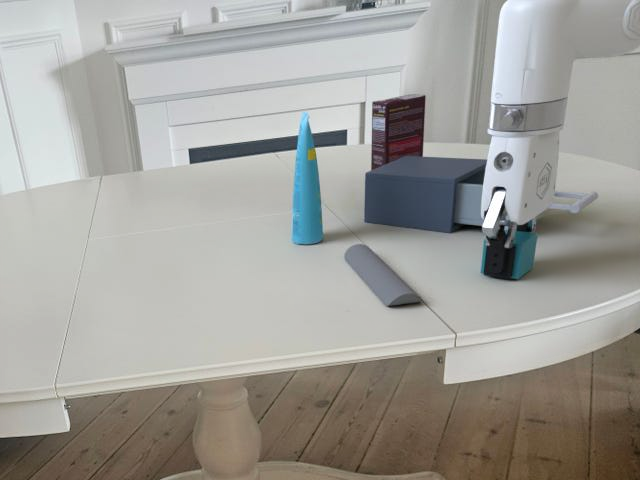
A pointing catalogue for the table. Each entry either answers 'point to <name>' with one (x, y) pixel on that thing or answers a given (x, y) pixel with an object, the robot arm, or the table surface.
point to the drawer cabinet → (417, 192)
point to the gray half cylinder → (380, 276)
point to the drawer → (471, 214)
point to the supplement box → (397, 128)
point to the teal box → (519, 253)
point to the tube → (306, 190)
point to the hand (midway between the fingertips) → (506, 267)
